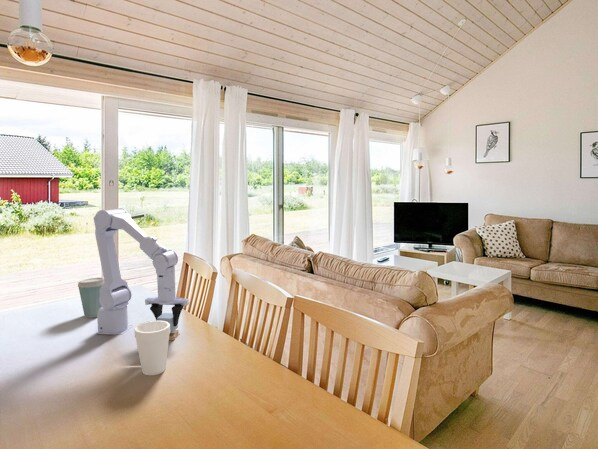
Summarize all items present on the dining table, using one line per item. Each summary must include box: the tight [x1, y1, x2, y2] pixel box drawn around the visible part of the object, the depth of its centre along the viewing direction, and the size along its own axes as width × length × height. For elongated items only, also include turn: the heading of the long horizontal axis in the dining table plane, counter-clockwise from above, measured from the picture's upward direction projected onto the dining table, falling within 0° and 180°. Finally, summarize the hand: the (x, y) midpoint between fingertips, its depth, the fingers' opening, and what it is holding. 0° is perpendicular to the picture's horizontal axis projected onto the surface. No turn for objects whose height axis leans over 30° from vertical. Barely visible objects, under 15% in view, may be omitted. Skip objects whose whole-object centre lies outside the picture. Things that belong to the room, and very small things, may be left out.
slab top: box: [169, 329, 179, 341], centre depth 133 cm, size 6×6×1 cm
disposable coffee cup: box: [77, 276, 105, 319], centre depth 155 cm, size 11×11×15 cm
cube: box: [157, 312, 179, 333], centre depth 132 cm, size 5×5×5 cm
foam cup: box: [133, 320, 170, 376], centre depth 110 cm, size 10×9×13 cm
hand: (167, 325), depth 133 cm, fingers closed on cube, 5 cm apart
